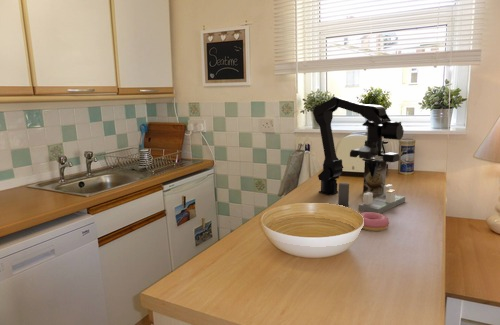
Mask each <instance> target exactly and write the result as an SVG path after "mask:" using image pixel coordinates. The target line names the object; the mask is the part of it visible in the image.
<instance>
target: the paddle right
mask: <svg viewBox="0 0 500 325" xmlns="http://www.w3.org/2000/svg"><path fill="white" fill-rule="evenodd" d="M393 188H394V185H393V184H390V183H388V184H385V186H384V195H385V196H386V191H388V190H390V189H391V190H394V189H393Z"/></svg>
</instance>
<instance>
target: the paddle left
mask: <svg viewBox="0 0 500 325" xmlns="http://www.w3.org/2000/svg"><path fill="white" fill-rule="evenodd" d="M362 195H363V196H362V197H363V199H362V203H363V204H366V205H369V204H371V203H373V199H374V195H373V193H371V192H367V193H364V194H363V193H362Z"/></svg>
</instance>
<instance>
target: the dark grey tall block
mask: <svg viewBox="0 0 500 325" xmlns="http://www.w3.org/2000/svg"><path fill="white" fill-rule="evenodd" d="M337 194H338V196H337V197H338V199H337V200H338V202H337V205H338V204H339V205H343V206H348V207H349V201H350V200H349V198H350V196H349V195H350V183H349V182H338V193H337Z"/></svg>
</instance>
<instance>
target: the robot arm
mask: <svg viewBox="0 0 500 325" xmlns="http://www.w3.org/2000/svg"><path fill="white" fill-rule="evenodd" d="M339 108H340V109H343V110H346V111H349V112H352V113H356V114H359V115H360V116H361V117H363V118H364V119H366V120H365V121H364V123H362V124H361V125H362V126H364V127H367V130H366V133H367V134H366V140H365V141H364V145H363V146H361V147H360V148H354V149H351V150H350V151H349V157H351V158H357V157H358V158H359V159H361V160H362V161H364V163H365V162H366V163H367V165H368V167H369V171H370V174H371V176H375V174H376V172H377V170H378V168H379V166H380V165H381V163H382V162H383V161H385V162H387V163H395V162H399V161H400V154H399V153H398V152H386V153H384V150H383V149H382V148H383V143H385V140H395V141H401V140H402V138H403V137H404V132H405V130H404V127H403V125H402V121H392V120H391V119H390V116H389V115H388V113H387V110H386V107H385V106H383V105H379V104H365V103H362V102H358V101H355V100H352V99H348V98H345V97H342V96H332V98H330V99H327V101H324V102H323V103H321V104H318V105H316V106H314V108H313V110H312V114H313V117H314V120H315V122H316V123H317V125H318V126H319V130H320V131H319V132H320V136H321V142H322V148H323V153H324V155H323V156H324V160H323V163H322V171H321V172H320V173H319V174H318V175H317V178H318V180H319V181H320V190H319V191H318V193H320V194H324V195H328V196H331V195H335V194H338V193H339V190H338V180H337V179H340V176H341V175H342V173H343V170H344V169H345V167H344V165H343V160H342V159H339V158H338V156H337V153H336V146H335V141H334V135H333V130H332V129H333V128H332V120H333V118H334V117H333V113H334V112H335V111H337V110H338V109H339ZM384 139H385V140H384ZM373 157H374V158H373Z"/></svg>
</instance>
